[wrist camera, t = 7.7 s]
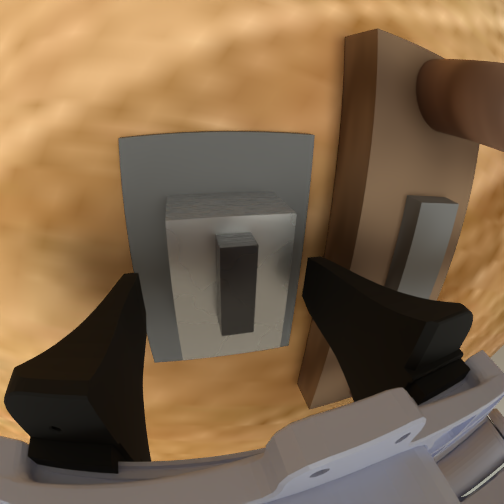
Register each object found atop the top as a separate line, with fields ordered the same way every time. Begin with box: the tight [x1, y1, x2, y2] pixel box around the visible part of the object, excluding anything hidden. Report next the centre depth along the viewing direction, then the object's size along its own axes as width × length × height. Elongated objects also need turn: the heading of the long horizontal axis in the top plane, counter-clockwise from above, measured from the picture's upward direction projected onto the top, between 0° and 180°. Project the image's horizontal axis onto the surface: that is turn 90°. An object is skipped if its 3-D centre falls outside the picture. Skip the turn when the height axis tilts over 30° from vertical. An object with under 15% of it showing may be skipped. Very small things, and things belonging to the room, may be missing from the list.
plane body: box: [297, 29, 504, 409], centre depth 13 cm, size 22×8×7 cm, turn 177°
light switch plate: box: [165, 191, 297, 360], centre depth 12 cm, size 6×4×4 cm
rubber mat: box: [119, 131, 314, 362], centre depth 14 cm, size 12×8×1 cm, turn 177°
